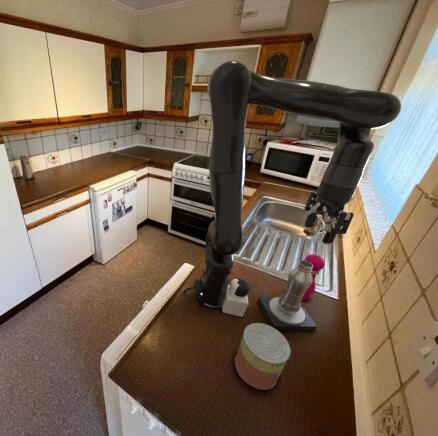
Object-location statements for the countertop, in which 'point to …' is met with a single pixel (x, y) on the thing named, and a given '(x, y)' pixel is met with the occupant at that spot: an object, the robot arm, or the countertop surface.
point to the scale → (285, 316)
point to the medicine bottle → (236, 298)
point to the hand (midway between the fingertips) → (316, 234)
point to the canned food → (261, 355)
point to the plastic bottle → (296, 288)
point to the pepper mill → (313, 272)
